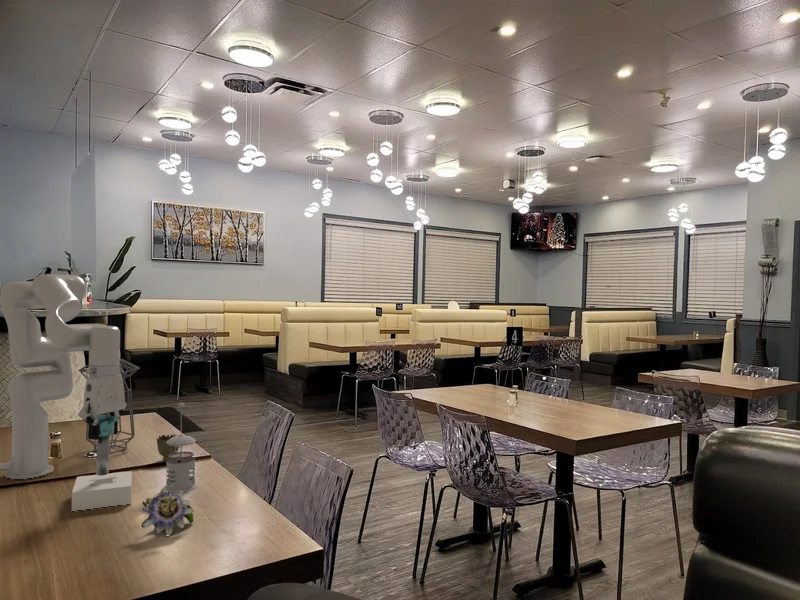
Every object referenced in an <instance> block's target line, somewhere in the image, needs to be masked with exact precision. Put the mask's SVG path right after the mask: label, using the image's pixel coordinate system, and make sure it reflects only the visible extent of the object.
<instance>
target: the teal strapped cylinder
mask: <svg viewBox="0 0 800 600" xmlns="http://www.w3.org/2000/svg"><path fill="white" fill-rule="evenodd" d="M92 419H94V415H93V418H92ZM116 421H118V422H119V420H118V417H117V416H109V415H106V414H101V415H100V416H99V419H98V423H97V425H99V439H98V440H96V442H97V445H96V446H97V447H96V449H97V450H96V451H97V452H96V470H95V471H96V473H95V475H99V476H102V475H107V474H108V473H109V472H110V471H109V470H110V469H109V466H110V460H109V459H110V454H109V446H110V444H109V442H110V441H109V440H110V436H112V435H113V436H114V422H116Z"/></svg>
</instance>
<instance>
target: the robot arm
mask: <svg viewBox="0 0 800 600" xmlns="http://www.w3.org/2000/svg"><path fill="white" fill-rule="evenodd" d="M86 294H87V285H86V283H85V281H84V280H83V278H81V276H78V275H75V274H62V273H61V274H60V273H58V274H57V273H55V274H54V273H44V274H41V275H38V276H37V277H35V278H34V279H33V280H29V281H27V280H25V281H24V280H22V281H21V280H19V281H12V282H8V283H7V284H5V285H4V286H3V287H2V288H1V291H0V309H1V313H2V314H3V318H4V319H5V322H6V324H7V329H8V330H7V331H8V340H9V341H8V342H9V352H10V356H11V357H10V359H11V362H12V364H13V366H14V367H16V368H18V369H32V368H33V369H35V368H45V367H46V368H47V367H49V370H43V371H42V370H41V371H33V372H30V371H29V372H25V373H21V374H17V375H14V377H12V378H11V379H10V381H9V383H8V388H7V389H8V396H9V399H10V405H11V406H10V407H11V419H12V420H11V429H12V430H11V460H10V461H9V460H8V461H7V462H0V471H6V473H5V478H6V479H8V478H13V479H12V480H14V479H23V480H25V479H24V478H32V479H34V478H33V477H37V478H39V477H38V476H42V477H44V476H43V475H45V476H47V475H46V474H48V475H50V474H52V473H53V472H54V471H55V468H54V466H53V465H52V464H49V414H48V412H47V410H46V409H44V407H43V406H42V405H41V403H44V402H47V401H56V400H63V399H66V398H67V397H69V396H70V395H71V394H72V392H73V387H74V380H73V371H72V362H71V354H70V353H73V352H75V353H76V352H84V351H85V352H86V351H87V352H88V364H89V367H88V368H86V369H87V370H85V371H86V373H87V375H88V377H87V379H86V381H85V387H84V392H83V406H82V407H81V409H79V412H78V414H77V415H78V417H80V418H81V419H82V421H84V422H85V425H88V438H89V439H90V440H92V441H97V440H98V439H99V425H97V423H98V419H99V416H100V415H101V414H102V415H106V413H108V415H109V416H117V417H118V421H116V422H114V434H113V436H115V435H116V436H117V435H118V431H119V430H118V429H119V428H118V426H119V419H120V416H122V414H123V412H124V411H125V409H126V407H127V406H128V403H126V401H125V399H126V398H125V392H124V391H125V389H124V388H125V383H124V381H123V379H122V378H123V375H122V373H121V374H119V372H120V369H119V366H120V365H121V364H120V358H121V357H120V356H121V355H120V353H121V351H120V349H121V330H120V329H119V327H117V326H114V325H107V324H103V323H78V324H76V323H75V324H73V323H72V324H67V322H69V321H72V320H73V319H75V318H76V317H78V315H79V314H80V312H81V309H82V304H81V301H83V300H84V298H85V297H86ZM28 309H44V310H46V312H47V315H46V317H45V322H44V328H45V333H46V336H42V331H41V330H42V329H41V324H40V321H39V319H38V318H37V317H36V316H35V314H34V313H33V312H31V311H30V310H28ZM86 373H85V374H86ZM113 412H114V413H113ZM87 413H89V414H88V415H87ZM93 415H94V419H92V418H93ZM51 472H52V473H51ZM49 473H50V474H49Z"/></svg>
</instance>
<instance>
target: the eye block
mask: <svg viewBox="0 0 800 600" xmlns="http://www.w3.org/2000/svg"><path fill="white" fill-rule="evenodd" d="M132 493H133V471H132V470H129V471H120V472H119V471H117V472H112V473H108V474H107V475H102V476H99V475H96V474H92V475H80V476H77V477H76V478H75V482H74V485H73V487H72V492H71V512H72V511H75V512H77V511H76V510H83V511H87V510H86V509H91V510H94V509H93V508H99V509H101V508H100V507H107V508H109V507H108V506H115V507H118V506H117V505H122V506H128V505H127V504H130V505H132V498H133V497H132Z"/></svg>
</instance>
